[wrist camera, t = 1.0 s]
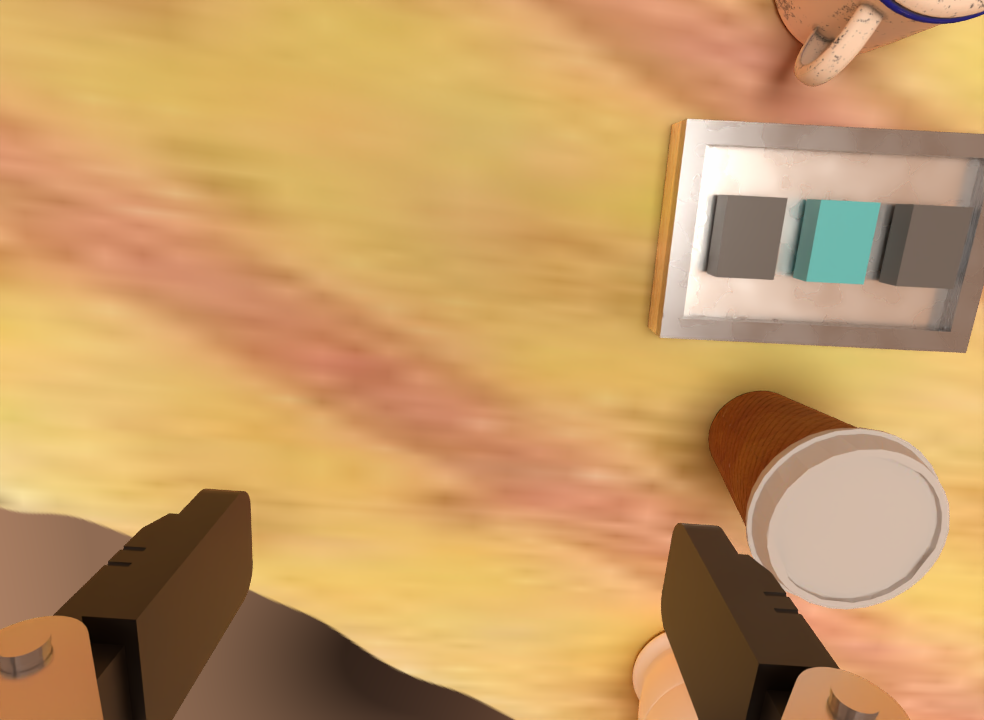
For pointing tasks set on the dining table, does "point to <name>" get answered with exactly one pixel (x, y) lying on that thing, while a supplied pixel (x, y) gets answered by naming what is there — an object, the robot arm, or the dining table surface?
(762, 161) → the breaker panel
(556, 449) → the dining table surface
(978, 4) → the teacup with lid
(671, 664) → the jar
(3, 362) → the dining table surface
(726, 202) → the grey rectangular prism
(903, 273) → the dark taupe block
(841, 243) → the teal rectangular box
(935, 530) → the disposable coffee cup
